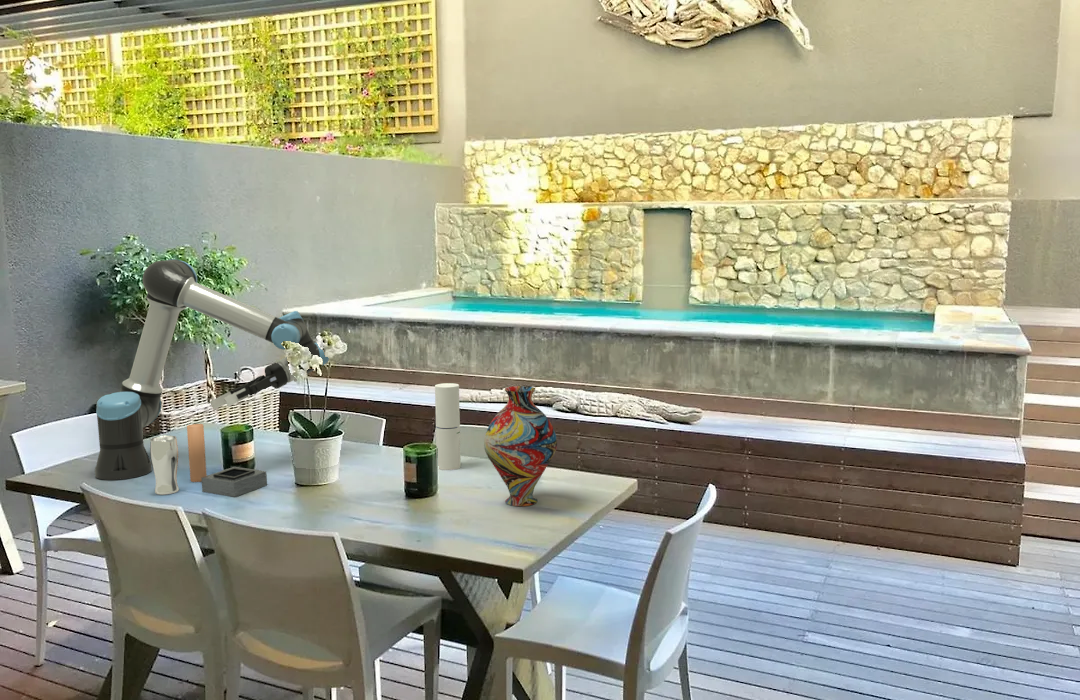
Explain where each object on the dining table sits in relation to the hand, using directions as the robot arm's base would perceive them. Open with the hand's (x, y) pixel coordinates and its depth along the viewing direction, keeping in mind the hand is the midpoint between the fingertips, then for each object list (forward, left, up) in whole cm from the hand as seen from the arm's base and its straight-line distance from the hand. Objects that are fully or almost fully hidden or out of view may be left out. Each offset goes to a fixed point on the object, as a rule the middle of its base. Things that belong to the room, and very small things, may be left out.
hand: (218, 404), depth 248 cm
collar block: (+15, -10, -21) cm, 28 cm away
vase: (+93, +12, -21) cm, 96 cm away
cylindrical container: (+58, +33, -21) cm, 70 cm away
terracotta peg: (-1, -8, -21) cm, 22 cm away
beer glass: (0, -20, -21) cm, 29 cm away
